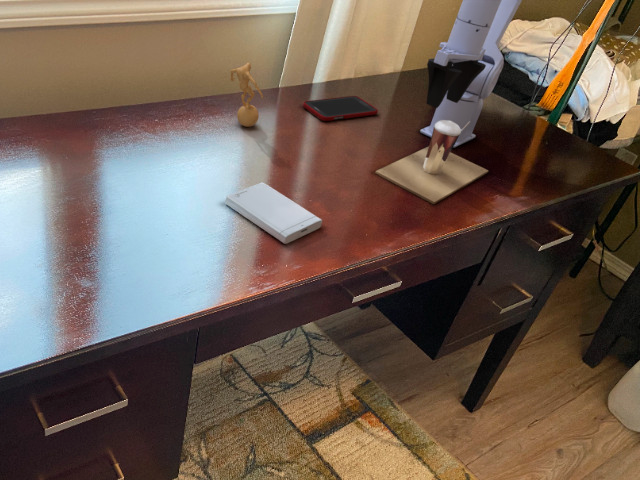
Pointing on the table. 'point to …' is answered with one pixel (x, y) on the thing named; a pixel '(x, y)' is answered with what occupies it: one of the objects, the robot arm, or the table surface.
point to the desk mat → (431, 175)
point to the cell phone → (340, 108)
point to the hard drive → (273, 212)
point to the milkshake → (441, 145)
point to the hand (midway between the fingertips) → (442, 103)
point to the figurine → (247, 112)
